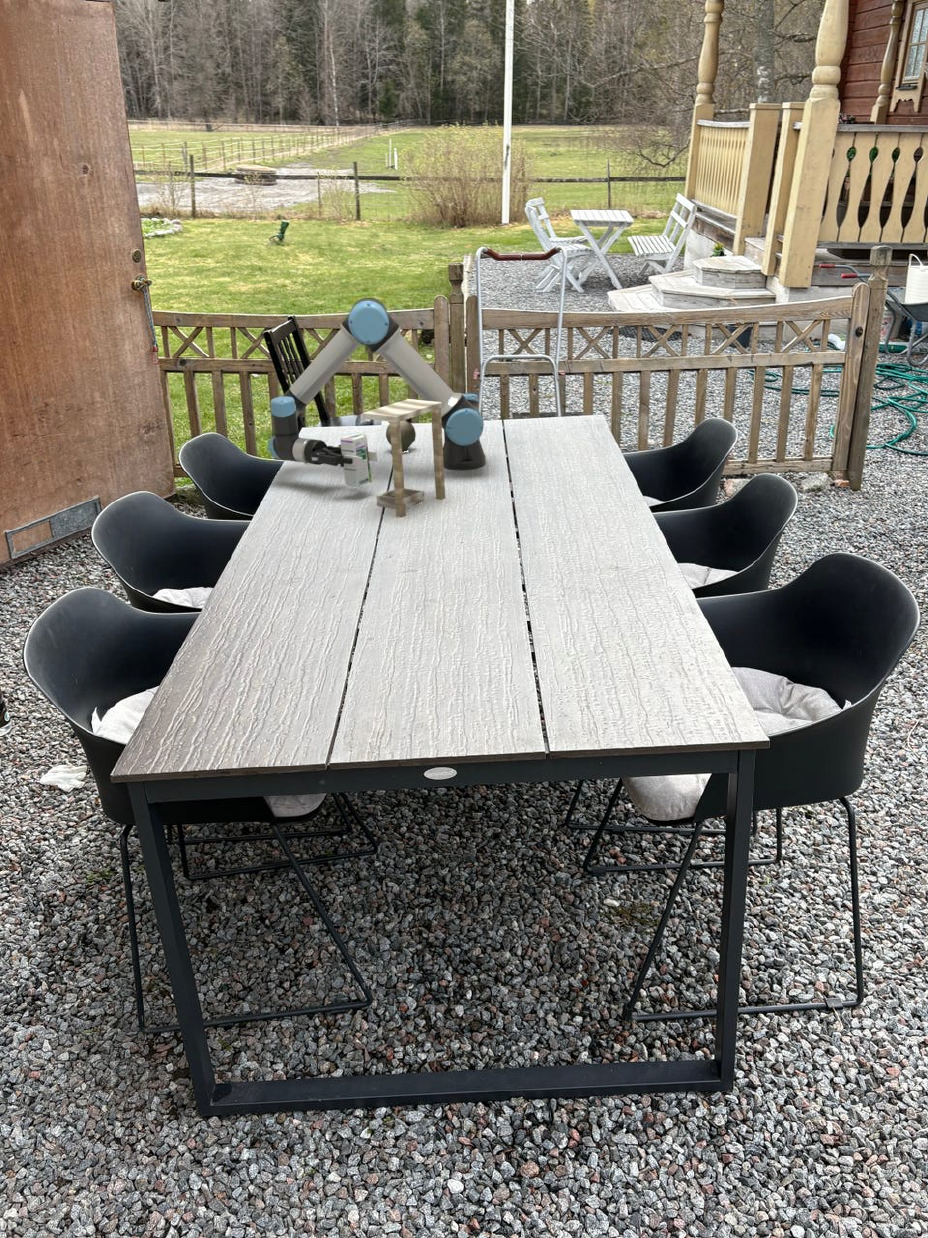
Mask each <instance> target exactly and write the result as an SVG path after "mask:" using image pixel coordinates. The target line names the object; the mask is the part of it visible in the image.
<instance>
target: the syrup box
mask: <svg viewBox="0 0 928 1238" xmlns="http://www.w3.org/2000/svg"><path fill="white" fill-rule="evenodd" d="M339 441H340V442H339V443H340V445H341V450H342V456H343V457H344V455H350V456H358V457H362V458H363V466H362V467H360V466H353V465H346V464H345V463H344V467H343V475H344V483H345V485H348V486H352V487H356V488H360V487H362V486H364V485H365V486H366V485H367V484H370V483H372V474H371V466H370V464H371V463H370V461H369V454H368V451H369V448H368V447H369V446H368V436H367V435H365V434H361V433H352V434H351V435H347V436H343V437H340V438H339Z"/></svg>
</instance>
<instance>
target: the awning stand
mask: <svg viewBox="0 0 928 1238" xmlns="http://www.w3.org/2000/svg"><path fill="white" fill-rule="evenodd" d="M441 408H442V402H435V401H425V400H422V399H413V398H407V399H404V400H400V401H397V402H394V403H392V404H391V403H390V404H388V405H385V406H382V407H381V406H380V407H378V408H377V407H376V408H375V409H373V410H372V409H370V410H368V411H364V412H361V414H362V419H364V420H372V421H381V422H388V423H389V422H390V423H389V424H390V434H391V444H390V447H391V452H392V454H391V458H392V460H391V461H392V462H391V463H392V472H393V473H392V475H393V487H394V488H393V489H389V490H388V491H387V490H386V491H385V492H383V493H380V494H377V495H376V506H377V505H378V506H377V507H382V506H383V507H384V508H387V507H388V508H389V509H394V508H395V509H394V510H395V513H396V514H395V516H396V518H397V517H399V518H404V517H406V516H407V510H408V508H409V509H410V507H411V508H413V507H415V506H417V504H418V505H420V504H422V503H425V502H426V501H425V500H426V498H425V491H424V490H418V489H417V490H416V489H413V488H412V489H411V488H405V476H404V464H403V461H404V460H403V453H402V444H401V429H400V421H406V420H407V419H411V418H415V417H417V416H421V415H424V414H426V413H431V432H432V433H431V434H432V450H433V467H434V470H433V471H434V485H435V487H434V488H435V499H436V500H441V501H442V500H444V499H446V485H445V484H446V483H445V468H444V462H443V446H444V442H443V428H442V422H441ZM421 502H422V503H421ZM419 503H420V504H419ZM414 505H415V506H414ZM412 506H413V507H412Z"/></svg>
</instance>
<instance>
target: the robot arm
mask: <svg viewBox="0 0 928 1238" xmlns="http://www.w3.org/2000/svg"><path fill="white" fill-rule="evenodd" d="M364 346H365V347H366V348H367V349H368V351H370V353H372V355H380V356H381V357H382V358H383V359H384V360H385V361H386V362H387V363H388V365H390V367H392V369H393V370H394V371H395V372H396V373H397V374H398V375H399V376H400V377H401V378H402V380H403V381H404V382H406V384H407V385H408V386H409V387H410V388H411V389H412V390H413V391H414V392H415V393H416V394H417V395H418V397H419V398H420V400H425V401H435V402H442V408H441V422H442V430H443V436H444V438H443V439H444V440H443V441H444V442H443V462H444V469H448V470H449V469H450V470H471V469H477V468H480V467H483V466H484V465H486V462H487V459H486V455H485V452H484V449H483V446H482V443H481V439H480V437H481V436H482V434H483V431H484V426H485V424H484V419H483V416H482V415H481V413H480V411H479V404H480V401H479V396H478V394H476V393H462V392H454V391H453V390H452V389H451V388H450V386H449V385H447V383H446V382H445V381H444V380H443V379H442V378H441V377H440V376H439V375H438V373H437V372H436V371H435V370H434V369H433V368H432V367H431V366H430V365H429V364H428V362H426V360H425V359H423V357H422V355H420V354H419V353H418V352H417V350H416V349H415V348H414V347H413V346H412V345H411V344H410V343H409V342H408V341H407V340H406V339H405V337H404V336H403V335H401V325H400V324H398V323H397V321H396V320H395V319H394V318H393V317H392V316H391V315H390V314H389V312H388V310H387V308H386V306H385V305H384V304H383V303H382V302H381V301H380V300H379V299H377V298H374V297H364V298H360V299H359V300H357V301H356V302H355V303H354V304H353V305H352V307H351V309H350V311H349V313H348V315H347V316H346V317H345V319H343V321H342V322H341V323H340V330H338V332H336V334H335V335H334V336H333V337H332V339H331V340H330V341H329V342H328V343H327V345H325V347H324V348H323V349H322V350H321V351H320V352H319V353H318V355H317V356H316V357H315V358H314V359H313V361H312V362H311V363H310V364H309V365H308V366H307V368H306V369H305V370H304V371H303V372H302V373H301V374H300V376H299V377H298V378H297V379H296V380H295V381H294V382H293V384H292V385H291V386H290V387H289V389H287V391H286V392H285V393H284V394H283V395H281V396H278V397H274V398H271V400H270V413H271V419H272V425H273V434H274V435H273V436H271V438H270V439H269V443H268V445H267V446H268V452H269V454H270V455H271V456H272V458H274V459H277V460H281V461H285V462H286V461H289V462H294V463H295V462H296V463H304V465H308V464H310V465H315V466H316V465H317V466H320V465H323V464H324V465H328V466H333V467H337V466H339V467H340V468H344V463H345V464H346V465H353V466H360V467H362V466H363V458H362V457H358V456H350V455H344V457H343V456H342V450H341V444H338V446H333V445H327V444H326V442H325V441H324V440H321V439H313V438H306V437H300V434H299V426H298V417H299V415H300V414H301V413H302V412H303V410H305V408H306V407H307V406H308V404H310V402H311V401H312V400H313V399H314V398H315V396H316V395H317V394H318V393H319V392H320V391H321V390H322V388H323V387H324V386H325V385H327V383H328V382H329V381H330V380H331V379H332V377H334V376H335V374H336V373H337V372H338V371H339V369H341V367H342V366H343V365H344V364H345V363H346V361H348V360H349V358H350V357H352V355H353V354H354V352H356V350H358V348H360V347H364ZM368 454H369V462H377V461H378V455H377V451H371V450H368Z"/></svg>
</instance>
